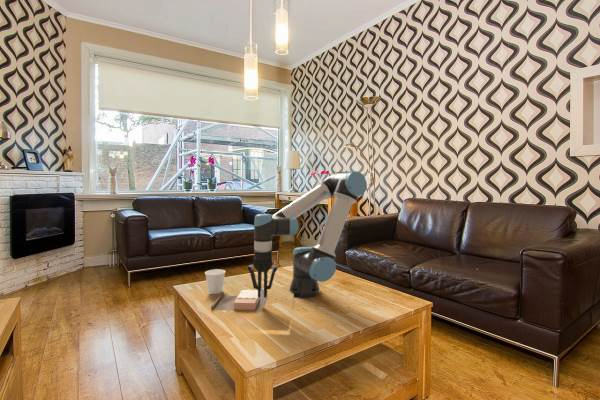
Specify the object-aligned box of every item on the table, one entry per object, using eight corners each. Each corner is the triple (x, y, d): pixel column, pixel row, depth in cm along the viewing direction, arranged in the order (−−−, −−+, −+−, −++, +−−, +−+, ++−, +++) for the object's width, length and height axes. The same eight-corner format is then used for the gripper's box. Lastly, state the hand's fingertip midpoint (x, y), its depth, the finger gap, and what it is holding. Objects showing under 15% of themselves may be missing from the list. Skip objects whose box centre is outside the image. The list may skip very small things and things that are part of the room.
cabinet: (256, 305, 140) (256, 298, 140) (254, 310, 135) (254, 302, 135) (236, 305, 140) (236, 298, 140) (233, 309, 135) (233, 302, 135)
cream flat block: (260, 296, 151) (260, 290, 151) (257, 305, 140) (257, 298, 140) (242, 296, 152) (242, 289, 151) (236, 304, 141) (236, 297, 140)
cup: (220, 298, 152) (220, 275, 151) (201, 296, 154) (201, 274, 153) (228, 291, 161) (228, 269, 161) (210, 289, 163) (210, 268, 163)
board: (268, 299, 151) (268, 293, 151) (262, 313, 134) (262, 307, 134) (222, 298, 152) (222, 292, 152) (211, 312, 135) (211, 306, 135)
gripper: (279, 248, 139) (278, 301, 141) (249, 248, 140) (249, 301, 141) (277, 252, 132) (276, 308, 133) (246, 251, 132) (245, 307, 133)
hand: (262, 304), depth 137 cm, fingers closed
